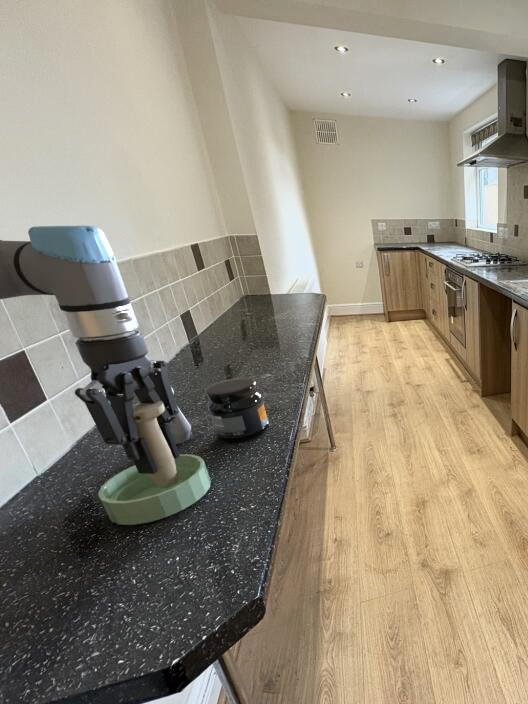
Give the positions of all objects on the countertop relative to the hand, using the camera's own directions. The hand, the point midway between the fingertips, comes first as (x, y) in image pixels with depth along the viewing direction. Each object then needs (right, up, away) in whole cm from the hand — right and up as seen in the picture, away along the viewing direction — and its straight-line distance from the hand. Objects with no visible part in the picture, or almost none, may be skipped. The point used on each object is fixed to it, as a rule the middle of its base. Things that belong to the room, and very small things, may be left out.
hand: (159, 464), depth 71 cm
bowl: (-1, -7, +2) cm, 7 cm away
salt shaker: (-14, +1, +21) cm, 25 cm away
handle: (0, -4, +2) cm, 4 cm away
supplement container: (-1, +2, +24) cm, 24 cm away
